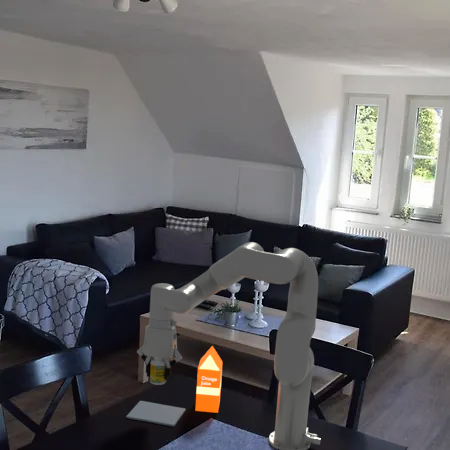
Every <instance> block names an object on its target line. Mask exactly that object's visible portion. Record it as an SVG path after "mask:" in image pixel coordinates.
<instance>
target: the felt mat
mask: <svg viewBox="0 0 450 450" xmlns="http://www.w3.org/2000/svg"><path fill="white" fill-rule="evenodd" d="M186 410H187V409H186V408H184V407H179V406H173V405H167V404H162V403H156V402H151V401H145V400H139V401H138V402H137V404H135V406H134V407H133V408H132V409H131V411H130V412H129V413H128V414H127V415H126V416H125V417H126V419H129V420H136V421H141V422H147V423H151V424H152V423H153V424H157V425H163V426H168V427H175V426H176V425H177V423H178V422H179V421H180V419H181V418H182V416H183V415H184V413H185V412H186Z"/></svg>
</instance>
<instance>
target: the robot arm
mask: <svg viewBox="0 0 450 450" xmlns="http://www.w3.org/2000/svg"><path fill="white" fill-rule="evenodd" d="M318 275H319V274H318V271H317V267H316V265H315V263H314V261H313V259H312V258H311V257H309V255H308V254H306V253H305V252H304V251H302V250H300V249H298V248H295V247H287V248H284V249H282V250H280V251H279V252H277V253H272V252H267V251H264V248H263V247H262V246H261V245H260V244H259V243H257V242H254V241H250V242H249V241H248V242H246V243H243V244H241V245H240V246H238V247H237V248H235V249H234V250H233V251H231V252H230V253H228V254H227V255H225V256H224V257H222V258H220V259H219V260H217V261H216V262H215V263H213V264H211V266H210V267H209V268H208V269H207V270H206V271H205V272H203V273H202V274H201V275H199V276H198V277H196V278H194V279H193V280H192V281H190V282H188V283H186V284H185V285H183V286H182V287H179V288H177V289H175V286H173V284H169V283H166V282H165V283H163V282H161V283H159V282H158V283H155V284H152V286H151V287H150V302H149V322H148V324H147V325H146V330H145V333H144V338H143V339H144V340H143V345H141V347H140V348H138V349H137V350H136V353H137V354H138V355H139V356H140V357H141V359H142V360H143V362H144V364H145V373H146V377H149V378H150V364H151V360H152V359H153V357H159V358H162V359H165V361H166V365H167V366H166V368H165V378H164V379H165V380H166V381H167V380H168V379H169V378H170V377H171V376H172V367H173V366H174V365H175V364H176V363H178V362H179V361H181V360H182V358H183V356H182V354H181V353H180V352H179V350H178V345H177V344H178V342H177V341H178V340H177V328H176V326H178V321H177V320H175V318H174V315H175V314H179V315H184V314H187V313H189V312H191V311H192V310H193V309H194V308H196V307H197V306H199V305H200V304H202V303H203V302H204V301H206V300H207V299H209V298H211V297H212V296H214V295H215V294H217V293H218V292H220V291H222V290H227V289H229V288H231V286H233V285H235V284H237V283H238V282H240V281H242V280H243V279H244V278H247V279H251V280H255V281H260V282H266V283H270V284H275V285H286V284H289V289H288V296H287V299H288V300H287V307H286V313H285V316H284V318H283V319H282V321H281V322H280V323H279V327H278V328H277V332H276V340H275V349H274V351H275V352H274V360H273V361H274V362H273V363H274V364H273V370H274V375H275V378H276V379H277V380H278V388H277V397H276V398H277V399H276V400H277V401H276V412H275V413H276V414H275V425H274V431H272V432H270V434H269V437H268V443H269V445H271V446H272V447H273V448H274V449H276V450H278V449H279V450H308V449H309V448H310V447H311V444H314V445H321V439H322V438H320V437H318V434H317V433H310V432H309V427H307V425H308V416H309V405H310V397H311V387H312V386H311V385H312V380H313V373H314V365H315V356H314V352H313V350H312V348H311V347H310V346H311V339H312V337H313V336H314V333H315V330H316V323H317V321H316V320H317V309H318V293H319V277H318ZM174 313H175V314H174ZM174 356H175V358H173V357H174Z"/></svg>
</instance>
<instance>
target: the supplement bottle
mask: <svg viewBox="0 0 450 450" xmlns="http://www.w3.org/2000/svg"><path fill="white" fill-rule="evenodd" d="M166 366H167V365H166V361H165V359H162V358H159V357H152V360H151V364H150V376H149V382H150V384H153V385H154V386H155V385H156V386H160V385H164V384H165V383H166V382H167V380H165V379H164V378H165V368H166Z"/></svg>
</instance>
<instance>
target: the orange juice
mask: <svg viewBox="0 0 450 450" xmlns="http://www.w3.org/2000/svg"><path fill="white" fill-rule="evenodd" d="M222 375H223V360H222V359H221V357H220V355H219V354H218V351H216V349H215V348H214V346H213V345H212V346H211V347H210V348H209V349H208V350H207V351H206V352H205V354H204V355H203V356H202V357H201V358H200V360H199V364H198V366H197V376H196V377H197V379H196V380H197V381H196V392H195V394H196V395H195V396H196V397H195V410H194V411H195V412H206V413H217V414H218V413H219V408H220V402H221V390H222V378H223V377H222Z"/></svg>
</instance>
